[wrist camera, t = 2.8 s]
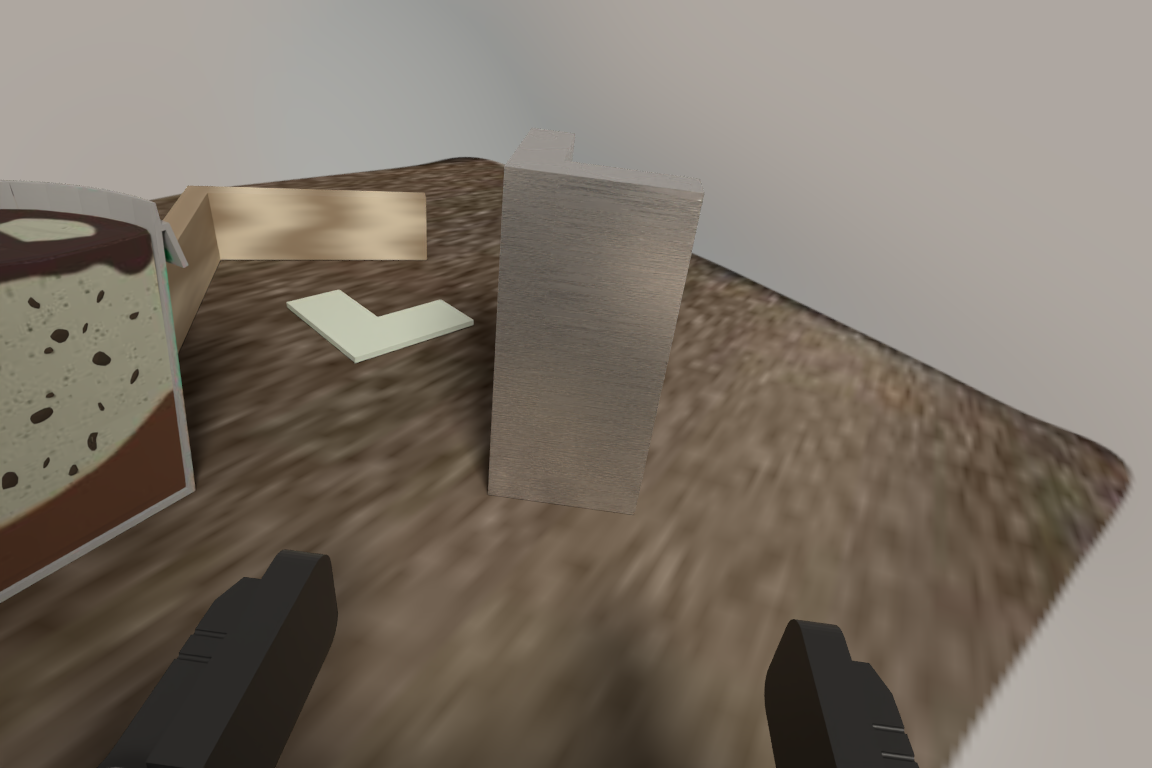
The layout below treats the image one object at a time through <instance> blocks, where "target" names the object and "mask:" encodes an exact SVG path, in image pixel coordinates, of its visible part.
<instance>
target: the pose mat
mask: <svg viewBox="0 0 1152 768" xmlns="http://www.w3.org/2000/svg"><path fill="white" fill-rule="evenodd" d="M287 308H289V309H290V310H291V311H292V312H294V313H295V314H296V315H297V316H298V317H300V318H301V319H302V320H303V321H305V322H306V323H307V324H308V325H309V326H311V327H312V328H313V329H314V330H316V331H317V332H318V333H319V334H320V335H322V336H323V337H324V338H325V339H327V340H328V341H329V342H330V343H331V344H333V345H334V346H335V347H336V348H338V349H339V350H340V351H341V352H342V353H344V354H345V355H346V356H347V357H349V358H350V359H351V360H352V361H353V362H355V363H357V362H360V361H364V360H367V359H370V358H373V357H376V356H379V355H382V354H385V353H388V352H391V351H395V350H398V349H401V348H404V347H407V346H410V345H413V344H416V343H419V342H422V341H426V340H429V339H432V338H435V337H438V336H441V335H444V334H447V333H450V332H453V331H457V330H460V329H463V328H466V327H469V326H472V325H474V320H473V319H471V318H470V317H468V316H466V315H465V314H463V313H462V312H460V311H458V310H457V309H455V308H454V307H452V306H450V305H449V304H447V303H446V302H444V301H442V300H437V301H434V302H430V303H427V304H423V305H419V306H416V307H412V308H409V309H405V310H402V311H398V312H394V313H391V314H387V315H384V316H380V317H377V316H375V315H374V314H373V313H371V312H370V311H368V310H367V309H366V308H364V307H363V306H361V305H360V304H359V303H357V302H356V301H354V300H353V299H352V298H350V297H349V296H347V295H346V294H345V293H343V292H342V291H340V290H336V291H331V292H327V293H323V294H319V295H315V296H310V297H306V298H302V299H298V300H294V301H289V302H287Z"/></svg>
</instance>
